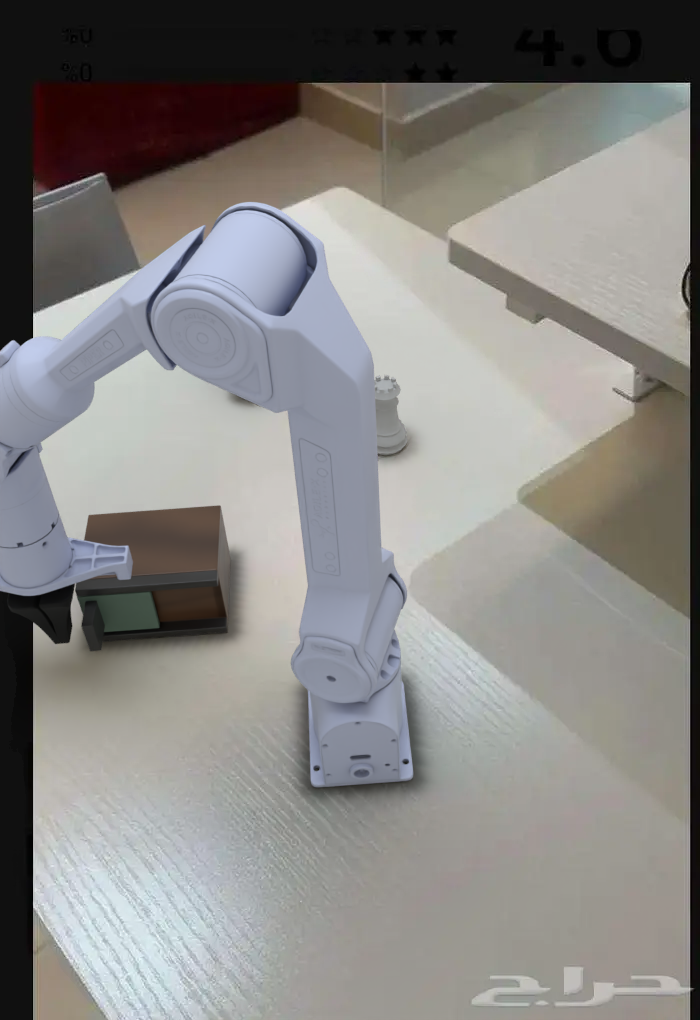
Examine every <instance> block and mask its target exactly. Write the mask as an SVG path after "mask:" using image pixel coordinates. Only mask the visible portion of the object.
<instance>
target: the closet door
mask: <svg viewBox="0 0 700 1020" xmlns="http://www.w3.org/2000/svg"><path fill="white" fill-rule="evenodd" d="M76 599H77V601H78V605H79V607H80V611H81V613H82V618H81V619H82V620H81V626H80V627H81V630H82V632H83V635H84V638H85V640H86V644H87V646H88V649H89V652H98V651H102V648H103V643H104V642H103V635H104V632H113V631H126V630H140V629H154V628H159V626H160V622H159V618H158V615H157V611H156V607H155V604H154V600H153V596H152V593H151V591H146V592H132V593H118V594H105V595H91V596H77V595H76Z"/></svg>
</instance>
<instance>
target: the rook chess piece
mask: <svg viewBox="0 0 700 1020" xmlns="http://www.w3.org/2000/svg"><path fill="white" fill-rule="evenodd" d="M381 377H382V376H380V374H379V375H377V376H374V382H375V406H376V430H377V454H378V455H380V456H381V455H383V456H390V455H394V454H396V453H398V452H400V451H401V450H403V449H404V447H405V446H406V445H407V442H408V436H407V434H408V432H407V428H406V426H405V424H403V423H402V420H401V419H400V418H399V411H398V406H399V402H400V400H399V398H398V396H399V395H400V394H401V390H402V389H401V386H400V385H399V384H398V382H397V378H396V377H394V376H392V377H390V375H389V374H384V378H381Z"/></svg>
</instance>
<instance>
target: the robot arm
mask: <svg viewBox="0 0 700 1020" xmlns="http://www.w3.org/2000/svg"><path fill="white" fill-rule="evenodd" d="M206 228H207V225H206V224H204V225H201V226H200V227H198V228H195V229H193V230H192V231H190V232H189V233H187V234H186V235H184V236H183V237H182V238H180V239H179V240H178V241H176V242H175V243H174V244H172V245H170V247H168V248H167V249H166V250H164V251H163V252H162V253H160V254H159V255H158V256H156V257H155V258H154V259H152V260H151V261H150V262H149V263H147V264H146V265H145V266H143V267H142V268H141V269H140V270H138V271H137V272H136V273H135V274H134V275H133V276H132V277H130V278H129V279H128V280H127V281H126V282H125V283H124V284H123V285H122V286H121V287H120V288H118V289H117V290H116V291H115V292H113V294H111V295H110V296H109V297H108V298H107V299H106V300H105V301H103V302H102V303H101V304H100V305H98V307H97V308H95V310H93V311H92V312H91V313H90V314H89V315H88V316H87V317H85V318H84V319H83V320H81V322H80V323H78V324H77V325H76V326H75V327H74V328H73V329H72V330H71V331H70V332H68V333H67V334H66V335H65V336H64V337H63V338H57V337H53V336H49V335H47V336H46V335H41V336H35V337H33V338H30V339H28V340H27V341H25V342H24V343H22V344H21V345H20V344H19V343H18V342H17V341H16V340H14V339H13V340H11V341H9V342H8V343H7V344H6V345H4V347H2V349H1V350H0V592H3V593H8V595H7V598H6V604H7V606H8V609H9V610H10V612H11V613H14V614H16V615H19V616H22V617H24V618H25V619H27V620H29V621H31V622H32V623H33V624H35V625H36V626H37V627H38V628H39V629H40V630H42V632H43V633H44V634H45V635H46V636H47V637H48V638H49V639H50V640H51V641H52V642H53V644H55V645H62V644H64V645H65V644H69V643H70V642H71V638H72V637H71V636H72V631H73V620H72V619H73V618H72V602H73V599H74V598H73V597H74V592H75V588H76V583H78V582H81V581H84V580H87V579H90V578H93V577H96V576H101V575H115V574H116V575H117V578H118V579H119V580H127V579H131V573H132V565H133V560H132V557H131V553H130V549H129V546H111V545H105V544H100V543H95V542H90V541H84V539H78V538H75V537H69V536H67V535H68V534H67V532H66V529H65V526H64V524H63V520H62V517H61V515H60V511H59V509H58V506H57V503H56V501H55V497H54V494H53V491H52V489H51V485H50V483H49V479H48V477H47V473H46V471H45V468H44V465H43V462H42V459H41V454H40V453H41V452H42V451H43V450H44V449H43V448H44V447H43V445H42V442H44V441H45V440H46V439H48V438H50V437H51V436H52V435H54V434H55V433H56V432H58V431H59V430H61V429H62V428H64V427H66V426H67V425H68V424H69V423H71V422H72V421H74V420H75V419H76V418H78V417H80V416H81V415H82V414H84V413H85V412H86V411H87V410H88V409H89V408H90V406H91V404H92V402H93V400H94V397H95V391H96V390H95V389H96V388H95V385H96V384H95V382H97V381H99V380H100V379H101V378H103V377H105V376H106V375H108V374H110V373H111V372H113V371H114V370H116V369H118V368H119V367H121V366H122V365H125V364H126V363H128V362H129V361H130V360H133V359H134V358H136V357H137V356H138V355H140V354H142V353H144V352H145V351H147V352H148V353H149V355H150V356H151V357H152V358H153V359H154V360H155V361H156V362H157V363H158V364H159V366H161V368H163V369H164V370H166V371H174V370H175V369H176V367H179V368H180V369H182V370H183V371H185V372H187V373H188V374H189V375H191V376H194V377H196V378H197V379H200V380H201V381H203V382H206V383H208V384H210V385H212V386H215V387H217V388H219V389H221V390H223V391H225V392H226V391H227V393H230V394H233V395H234V396H236V397H239V398H241V399H244V400H245V401H248V402H250V403H252V404H255V405H257V406H259V407H261V408H263V409H265V410H268V411H270V412H272V413H275V414H279V413H282V412H286V411H287V417H288V427H289V435H290V444H291V454H292V461H293V470H294V471H293V472H294V478H295V486H296V496H297V503H298V512H299V513H298V514H299V521H300V529H301V538H302V547H303V548H302V549H303V555H304V565H305V573H306V581H307V582H306V583H307V587H306V588H307V589H306V594H305V599H304V604H303V609H302V614H301V618H300V623H299V628H298V635H299V644H298V645H297V646H296V648H295V650H294V651H293V654H292V655H291V658H290V667H291V671H292V673H293V674H294V677H295V678H296V679H297V680H298V682H299V683H300V684H301V685H302V686H303V687H304V688H305V689H306V690H307V704H308V708H307V709H308V736H309V738H308V739H309V743H308V744H309V765H310V766H309V769H310V773H309V775H310V784H311V786H312V787H313V788H329V787H340V786H341V787H342V786H343V787H344V786H355V785H370V784H381V783H382V784H385V783H396V782H408V781H411V780H412V779H413V778H414V768H413V759H412V758H413V757H412V749H411V739H410V731H409V721H408V711H407V703H406V695H405V685H404V682H403V680H402V651H401V646H400V640H399V638H398V635H397V632H396V630H395V628H396V625H397V622H398V620H399V617H400V614H401V612H402V610H403V609H404V606H405V604H406V602H407V600H408V589H407V586H406V583H405V581H404V580H403V578H402V577H401V575H400V573H398V570H397V568H396V565H395V554H394V552H393V551H392V550H389V549H387V548H384V547H382V528H381V507H380V506H381V504H380V480H379V458H378V457H379V454H377V430H376V406H375V382H374V380H375V364H374V360H373V355H372V351H371V349H370V347H369V345H368V343H367V342H366V341H365V338H364V337H363V335H362V333H361V332H360V329H359V328H358V326H357V324H356V322H355V321H354V319H353V317H352V315H351V313H350V312H349V310H348V309H347V307H346V305H345V303H344V302H343V300H342V298H341V296H340V295H339V292H338V290H337V289H336V288H335V285H334V284H333V282H332V280H331V277H330V274H329V268H328V262H327V256H326V250H325V244H324V243H323V241H322V240H320V239H319V238H318V237H317V236H315V235H314V234H313V233H311V232H310V231H309V230H308V229H306V228H305V227H304V226H303V225H301V224H300V223H299V222H297V220H295V219H293V218H292V217H291V216H289V214H288V213H286V212H284V211H283V210H280V208H277V207H275V206H273V205H270V204H267V203H263V202H257V201H245V202H240V203H236V204H234V205H231V206H229V207H228V208H227V209H225V210H223V211H222V213H220V215H219V216H218V217H217V218H216V220H215V222H214V223H213V225H212V227H211V229H210V232H209V233H208V235H207V236H206V237H204V236H205V231H206ZM204 238H205V239H204ZM405 762H407V764H405ZM315 769H319V770H315Z"/></svg>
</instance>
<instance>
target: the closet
mask: <svg viewBox="0 0 700 1020" xmlns="http://www.w3.org/2000/svg"><path fill="white" fill-rule="evenodd" d="M83 540H84V541H90V542H95V543H100V544H105V545H111V546H129V549H130V553H131V557H132V560H133V565H132V573H131V579H127V580H119V579H118V578H117V575H116V574H115V575H101V576H96V577H93V578H90V579H87V580H84V581H81V582H78V583H75V587H74V592H75V595H76V597H77V596H91V595H105V594H118V593H132V592H146V591H151V593H152V596H153V600H154V604H155V607H156V611H157V615H158V618H159V622H160V626H159V628H154V629H140V630H126V631H113V632H104V635H103V642H102V643H107V642H120V641H133V640H146V639H147V640H148V639H158V638H159V639H160V638H174V637H189V636H199V635H200V636H201V635H214V634H215V635H216V634H227V633H228V632H229V607H230V585H231V584H230V581H231V558H232V557H231V554H230V547H229V542H228V536H227V531H226V526H225V521H224V515H223V510H222V506H221V505H219V504H218V505H206V506H205V505H204V506H192V507H190V506H189V507H179V508H177V507H176V508H163V509H150V510H137V511H124V512H110V513H98V514H97V513H96V514H94V513H93V514H88V517H87V521H86V528H85V533H84V538H83Z"/></svg>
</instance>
